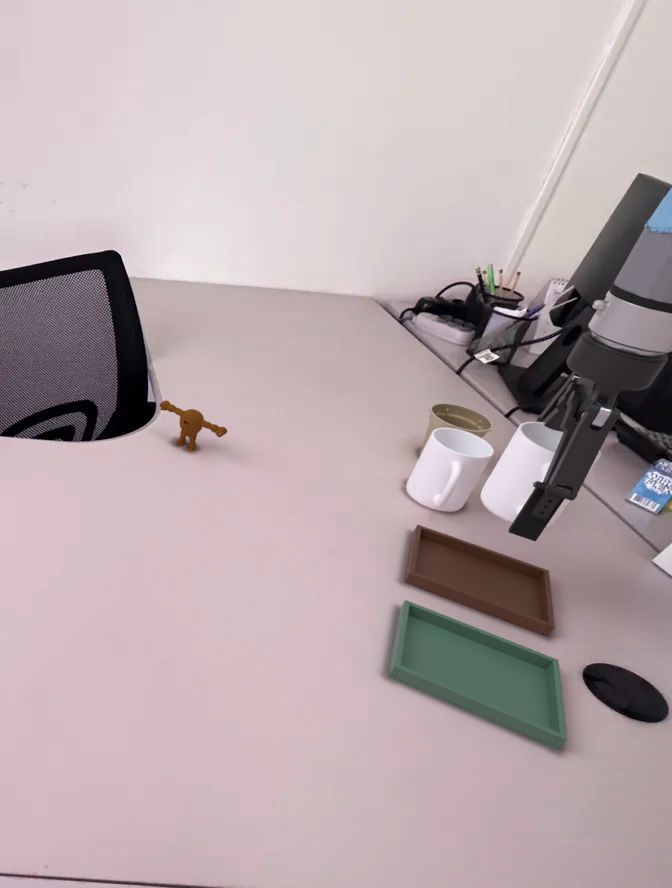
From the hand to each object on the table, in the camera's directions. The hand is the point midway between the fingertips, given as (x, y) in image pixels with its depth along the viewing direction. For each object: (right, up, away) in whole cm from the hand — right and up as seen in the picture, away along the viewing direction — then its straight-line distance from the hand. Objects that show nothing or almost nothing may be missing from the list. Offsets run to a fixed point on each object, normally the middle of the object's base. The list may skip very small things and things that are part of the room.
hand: (520, 508), depth 81 cm
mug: (0, -1, +1) cm, 2 cm away
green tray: (-10, -18, -6) cm, 22 cm away
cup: (+2, 0, +22) cm, 22 cm away
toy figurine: (-34, +9, +29) cm, 45 cm away
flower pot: (+10, +7, +33) cm, 35 cm away
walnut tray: (-1, -10, +7) cm, 12 cm away
